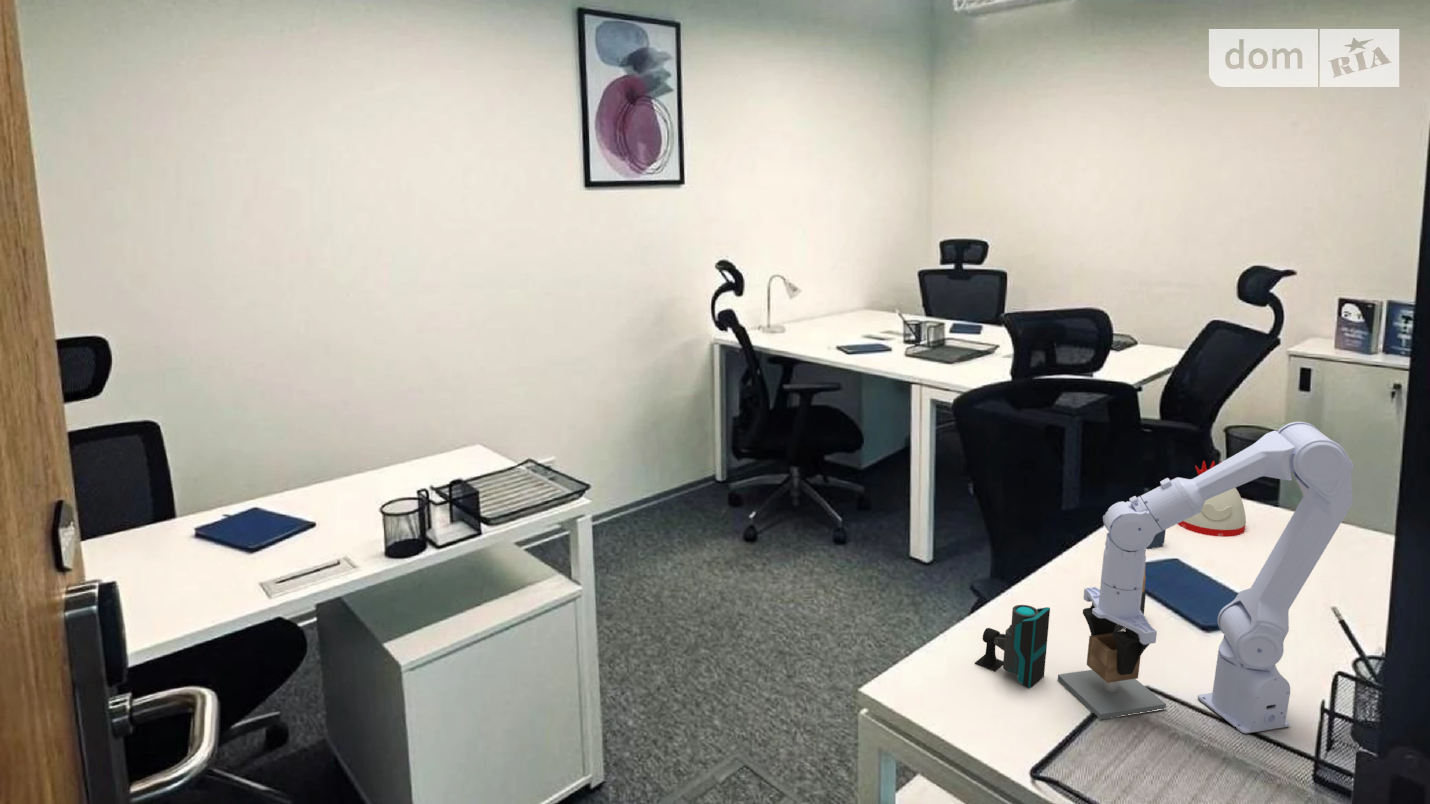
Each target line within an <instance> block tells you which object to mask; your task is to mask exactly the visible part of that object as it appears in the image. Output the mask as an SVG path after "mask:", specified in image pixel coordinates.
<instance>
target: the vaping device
mask: <svg viewBox="0 0 1430 804" xmlns="http://www.w3.org/2000/svg"><path fill="white" fill-rule="evenodd" d="M1166 531H1167V529H1166V530H1164V531H1163V530H1162V532H1160V533H1158V534H1156V535H1155V536H1154V539H1153V541H1152V543H1151V544H1150V545H1149V546H1148V547H1147V548H1146V550H1148V549H1156V548H1161V547H1163V545H1164V544H1165V541H1166V540H1165V539H1166Z"/></svg>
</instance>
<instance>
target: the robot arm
mask: <svg viewBox="0 0 1430 804" xmlns="http://www.w3.org/2000/svg"><path fill="white" fill-rule="evenodd" d="M1219 463H1220V462H1219ZM1219 463H1218V464H1215V466H1214V467H1213V468H1211V469H1210V468H1209V469H1207V471H1206V472H1204V473H1202V474H1200V475H1197V476H1195V477H1193V478H1190V479H1189V478H1184V477H1178V476H1177V477H1175V478H1173V479H1170V478H1169V477H1166V478H1164V479H1163V480H1161V481H1159V483H1160V485H1159V486H1157V487H1156V488H1153V489H1152V490H1149V491H1148V492H1146V493H1143V494H1142V495H1139V496H1136V495H1134V496H1132V497H1129V501H1127V500H1126V502H1125V501H1117V502H1115V503H1114V504H1112V505H1111V506H1110V507H1109V508H1107V511H1105V514H1104V515H1103V516H1102V521H1103V522H1102V523H1103V526H1104V527H1105V528H1106V530H1107V531H1108V532H1107V533H1106V538H1105V542H1104V543H1105V544H1104V545H1105V548H1104V550H1103V556H1102V566H1101V567H1102V568H1101V575H1100V576H1101V577H1100V587H1099V588H1098V587H1096V586H1093V587H1091V586H1090V587H1084V590H1083V600H1084V601H1086V602H1088V603H1090V602H1091V605H1090V607H1086V608H1083V609H1082V615H1083V616H1084V618H1085V620H1086V622H1087V625H1088V628H1089V632H1090V636H1092V635H1100V634H1107V633H1113V634H1112V635H1113V637H1114V640H1115V643H1116V648H1117V670H1118V673H1119V674H1120V675H1126V674H1132V673H1133V671H1134V668H1135V666H1136V664H1137V662H1138V660H1139V658H1140V659H1141V657H1140V656H1142V654H1144V651H1146V649H1147V648H1148V647H1149V646H1150V645H1151V644H1156V641H1157V633H1158V631H1157V630H1156V629H1154V628H1153V626H1152V625H1151V624H1150V623H1149V621H1148V620H1147V618H1146V616H1145V614H1144V615H1143V613H1142V612H1141V610H1140V606H1141V597H1142V589H1143V579H1144V570H1145V571H1146V566H1145V565H1146V560H1147V554H1146V552H1147V547H1148V546H1149V545H1150V544H1151V543H1152V541H1153V539H1154V536H1155V535H1156V534H1158V533H1160V532H1162V530H1163V531H1164V530H1166V531H1167V530H1168V529H1170V528H1172V527H1174V526H1175V525H1178V523H1180V522H1182V521H1184V520H1186V519H1188V518H1190V517H1192V516H1194V515H1196V514H1198V513H1200V512H1201V511H1202V508H1203V505H1204V503H1205V501H1206V500H1207V499H1210V498H1212V497H1214V496H1217V495H1219V494H1221V493H1224V492H1226V491H1228V490H1231V489H1233V488H1236V489H1237V488H1238V487H1240V486H1243V485H1245V484H1247V483H1249V482H1252V481H1254V480H1257V479H1259V478H1262V477H1267V478H1272V479H1277V480H1278V479H1279V480H1282V481H1283V480H1284V481H1290V482H1291V481H1292V480H1293V477H1292V474H1293V475H1294V479H1295V480H1296V483H1297V485H1298V486H1299V489H1300V490H1301V492H1302V498H1301V500H1300V502H1299V503H1298V505H1297V507H1296V509H1295V510H1294V512H1293V514H1292V515H1291V517H1290V520H1288V522H1287V524H1286V526H1285V527H1284V529H1283V531H1282V533H1281V534H1280V536H1279V538H1278V540H1277V542H1276V543H1275V545H1274V546H1273V549H1272V550H1271V552H1270V554H1269V556H1268V557H1267V559H1266V561H1265V562H1264V564H1263V566H1262V568H1261V569H1260V571H1259V573H1258V574H1257V576H1256V577H1255V579H1254V581H1253V583H1252V584H1251V586H1250V587H1249V588H1247V589H1243V590H1241V591H1239V592H1238V593H1237V595H1236V597H1235V598H1234V599H1233V600H1232V601H1231V602H1229V603H1228V604H1226V605H1225V606H1223V608H1222V609H1220V610H1219V612H1218V616H1217V626H1218V628H1219V630H1220V631H1221V633H1222V634H1223V638H1222V641H1221V642H1220V643H1219V645H1218V651H1217V660H1216V664H1215V665H1216V666H1215V672H1214V673H1215V674H1214V680H1213V687H1212V692H1209V693H1202V694H1198V695H1197V699H1198V700H1199V701H1201V702H1202V703H1203V704H1205V705H1206V706H1207V707H1208V708H1209V709H1211V710H1212V711H1213V712H1215V713H1216V714H1218V715H1219V716H1220V717H1221V718H1222V719H1224V720H1225V721H1226V722H1228V723H1229V724H1230V725H1232V726H1233V727H1234V728H1235V727H1236V729H1237V730H1238V731H1239V732H1241V733H1242V734H1252V733H1257V732H1264V731H1269V730H1275V729H1281V728H1287V727H1290V726H1291V725H1290V724H1291V723H1290V722H1289V721H1288V720H1287V715H1288V709H1289V708H1288V707H1289V702H1290V695H1291V686H1290V683H1289V681H1288V680H1287V679H1286V678H1285V677H1284V676H1283V675H1282V674H1281V673H1280V671H1279V670H1278V668H1277V666H1276V665H1277V664H1278V663H1279V662H1280V661H1281V659H1282V657H1283V655H1284V652H1285V651H1284V642H1285V639H1286V637H1287V635H1288V634H1289V632H1290V630H1289V629H1290V626H1289V624H1290V623H1289V622H1290V621H1289V611H1290V609H1291V607H1292V605H1293V603H1294V602H1295V600H1296V598H1297V597H1298V596H1299V593H1300V592H1301V590H1302V589H1303V587H1304V585H1305V583H1306V582H1307V580H1308V579H1309V577H1310V576H1311V573H1312V572H1313V570H1314V569H1315V567H1316V565H1317V564H1318V562H1319V561H1320V559H1321V557H1322V555H1323V553H1324V552H1325V550H1326V549H1327V547H1328V545H1329V544H1330V542H1331V540H1332V539H1333V537H1334V535H1335V534H1336V533H1337V530H1338V528H1339V527H1340V525H1341V524H1342V522H1343V520H1344V519H1345V517H1346V516H1347V513H1348V512H1349V511H1350V509H1351V507H1352V504H1353V503H1354V502H1353V501H1354V500H1353V499H1354V496H1353V495H1354V494H1353V485H1352V483H1353V482H1352V471H1353V469H1354V468H1355V465H1354V463H1353V461H1352V460H1351V459H1350V456H1348V453H1347V452H1346V450H1345V449H1344V448H1343V447H1342V445H1340V444H1339V443H1338V442H1335V441H1334V440H1332V439H1331V438H1329V437H1327V435H1325V434H1323V433H1322V432H1321V431H1320V429H1318V428H1317V427H1316V426H1314V425H1313V424H1311V423H1309V422H1304V421H1293V422H1290V423H1286V424H1285V425H1283V426H1282V427H1280V428H1279V429H1278V430H1272V431H1270V432H1267V433H1265V434H1264V435H1263V436H1261V437H1260V438H1259V439H1258V440H1257V441H1256V442H1254V443H1253V444H1251V445H1249V446H1248V447H1246V448H1244V449H1242V450H1241V451H1239V452H1238V453H1235V454H1234V455H1232V456H1230V457H1228V458H1226V459H1225V460H1224V461H1221V463H1220V464H1219ZM1116 624H1119V625H1121V626H1123V627H1125V628H1124V629H1125V630H1120V631H1118V632H1114V629H1115V626H1116Z"/></svg>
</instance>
